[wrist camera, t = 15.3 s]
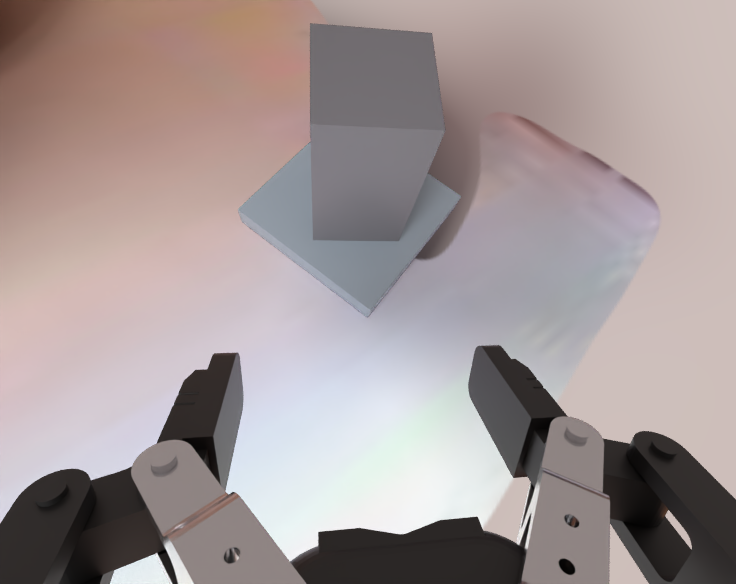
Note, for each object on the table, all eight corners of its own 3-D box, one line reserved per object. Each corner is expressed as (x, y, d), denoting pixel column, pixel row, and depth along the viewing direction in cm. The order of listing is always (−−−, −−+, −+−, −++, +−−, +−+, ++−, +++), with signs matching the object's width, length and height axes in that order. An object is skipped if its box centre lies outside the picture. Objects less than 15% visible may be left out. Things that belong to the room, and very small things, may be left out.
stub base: (242, 222, 25) (220, 161, 20) (339, 128, 28) (345, 53, 23) (367, 317, 24) (382, 282, 18) (454, 208, 27) (489, 150, 22)
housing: (312, 240, 24) (310, 124, 15) (312, 167, 25) (310, 23, 16) (398, 241, 24) (445, 130, 15) (392, 169, 26) (431, 33, 17)
